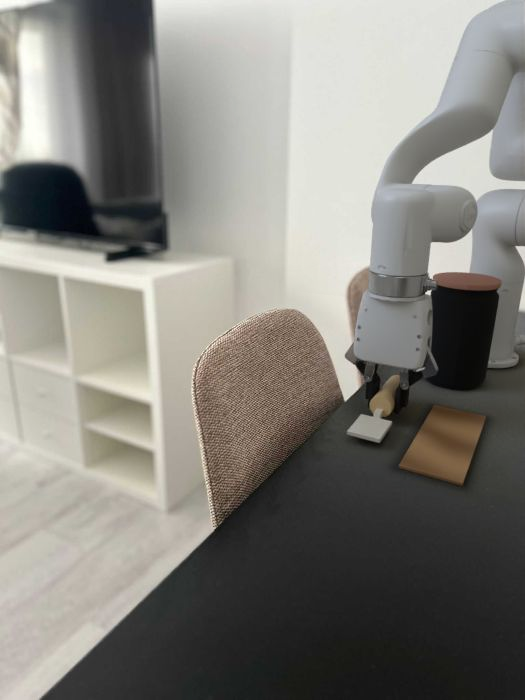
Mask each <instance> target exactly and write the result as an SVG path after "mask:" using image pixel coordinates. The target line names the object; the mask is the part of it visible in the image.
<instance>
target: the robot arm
mask: <svg viewBox="0 0 525 700" xmlns="http://www.w3.org/2000/svg"><path fill="white" fill-rule="evenodd" d="M446 77H447V78H446V80H445V82H444V85H443V89H442V91H441V93H440V97H439V100H438V103H437V105H436V107H435V108H434V110H433V111H432V112H431V113H430V114H428V115H427V116H426V117H424V118H423V119H422V120H421V121H420V122H419V123H418V124H417V125H416V126H414V127H413V128H412V129H411V130H410V131H409V132H408V133H407V135H405V136H404V138H402V140H401V141H400V142H399V143H398V144H397V145H396V146H395V148H394V149H393V150H392V151H391V153H390V154H389V156H388V158H387V159H386V161H385V163H384V166H383V168H382V171H381V174H380V176H379V179H378V182H377V185H376V187H375V190H374V193H373V198H372V202H371V207H370V219H371V222H372V228H371V229H372V230H371V231H372V232H371V244H370V259H369V273H368V287H367V289H366V290H365V291H364V292H363V293H362V297H361V300H360V304H359V308H358V312H357V318H356V324H355V329H354V337H353V342H352V343H351V345H350V346H349V348H348V349H347V351H346V352H345V353H344V358H345V359H346V360H347V361H348V362H350V363H351V364H352V365H354V366H355V367H356V369H357V370H358V371H359V373H360V374H361V375H362V376H363V380H364V381H365V382H366V383H365V397H364V398H365V400H367V408H369V409H370V401H371V400H372V398H373V397H374V396H375V395H376V394H377V392H378V391H379V390H380V389H381V377H380V375H379V374H378V373H379V367H380V365H381V366H387V367H392V368H397V369H399V375H400V383H399V386H398V387H397V388H396V392H395V406H394V409H393V413H394V414H396V415H399V414H401V412H402V410H403V409H404V408H405V409H406V408H407V407H408V405H409V399H410V388H411V386H413V385H414V384H417V383H418V382H419V381H420V380H423V379H425V378H427V377H431V376H434V375H436V374H437V372H438V370H439V368H438V366H437V364H436V362H435V359H434V357H433V355H432V353H431V345H432V323H433V312H432V299H431V296H430V295H431V294H427V292H428V291H430V292H431V290H437V286H438V280H433V278H430V273H429V263H430V254H431V245H432V243H442V244H443V243H444V244H450V243H454V242H458V241H461V240H462V239H463V238H465V237H466V236H467V235H468V234H469V233H470V232H471V236H472V237H471V239H472V241H471V242H472V243H471V256H470V257H471V258H470V265H469V272H468V273H476V274H483V275H488V276H492V277H495V278H498V279H500V280H501V281H502V283H501V287H500V288H499V289H498V290H497V293H498V294H499V303H498V309H497V315H496V320H495V326H494V332H493V338H492V344H491V350H490V356H489V362H488V367H487V369H508V368H511V367H515V366H516V365H517V364H519V360H520V359H519V358H520V357H519V354H517V352H515V351H514V350H515V348H516V347H517V346H523V345H525V334H520V335H515V333H516V327H517V321H518V316H519V312H520V311H519V310H520V304H521V299H522V294H523V289H524V283H525V263H524V260H523V258H522V256H521V254H520V252H519V250H518V248H517V247H525V189H522V188H502V189H501V188H500V189H493V190H489V191H487V192H485V193H483V194H482V195H481V196H479V198H477V200H476V198H475V196H474V194H473V193H472V192H470V190H468V189H466V188H464V187H462V186H458V185H451V184H450V185H447V184H444V185H443V184H431V183H429V184H427V183H413V182H414V180H415V179H416V177H418V175H419V173H420V172H421V171H422V170H424V168H425V167H427V166H428V165H430V164H431V163H432V162H434V161H435V160H437V159H438V158H441V157H442V156H445V155H446V154H449V153H451V152H453V151H455V150H459V149H460V148H462V147H465V146H466V145H469V144H472V143H473V142H475V141H478V140H480V139H481V138H484V137H485V136H486V135H488V134H489V133H491V132H492V133H491V140H490V149H489V156H488V157H489V159H488V166H489V167H488V169H489V172H490V174H491V175H492V177H494V178H495V179H498V180H502V181H510V182H525V0H502V1H499V2H497V3H495V4H493V5H491V6H489V8H486V9H484V10H482V11H480V12H478V13H477V14H475V15H474V16H473V17H472V18H471V20H469V22H468V23H467V25H466V27H465V29H464V30H463V33H462V36H461V38H460V41H459V44H458V47H457V50H456V53H455V55H454V58H453V61H452V64H451V66H450V68H449V72H448V75H447V76H446ZM423 365H425V367H424V368H422V367H423Z"/></svg>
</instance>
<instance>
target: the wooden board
mask: <svg viewBox="0 0 525 700" xmlns="http://www.w3.org/2000/svg"><path fill="white" fill-rule="evenodd" d="M486 419H487V416H486V415H483V414H478V413H473V412H469V411H464V410H459V409H455V408H450V407H445V406H441V405H437V404H434V405H433V407H432V408H431V410H430V412H429V413H428V415H427V416H426V418H425V420H424V422H423V423H422V425H421V426H420V429H419V430H418V432H417V433H416V435H415V437H414V438H413V441H412V442H411V444H410V445H409V448H408V449H407V451H406V452H405V453H404V456H403V458H402V459H401V461H400V462H399V464H398V469H399V470H400V469H401V470H405V471H407V472H411V473H415V474H418V475H422V476H426V477H428V478H432V479H436V480H440V481H443V482H446V483H450V484H453V485H456V486H457V485H458V486H461V487H463V486H464V482H465V480H466V477H467V475H468V471H469V469H470V466H471V463H472V460H473V458H474V454H475V452H476V449H477V446H478V442H479V439H480V437H481V435H482V431H483V428H484V425H485V423H486Z"/></svg>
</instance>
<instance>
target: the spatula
mask: <svg viewBox="0 0 525 700" xmlns="http://www.w3.org/2000/svg"><path fill="white" fill-rule="evenodd" d="M399 383H400V374H393V375H391V376H390V377H389V378H388V379H387V380H386V382H385V383H384V384H383V385H382V386H381V387H380V390H379V391H378V392H377V394H376V395H375V396H374V397H373V398H372V400H371V401H370V408H369V410H370V411H371V413H372V414H373V416H371V415H367V414H364V413H361V414H360V415H359V416H358V417H357V419H356V420H355V421H354V422H353V423H352V424H351V425H350V427H349V428H348V429H347V431H346V435H347V436H351V437H355V438H359V439H362V440H366V441H370V442H373V443H377V444H380V443H381V442H382V441H383V439H384V438H385V436H386V434H387V433H388V432H389V430H390V429H391V427H392V426H393V421H392V420H388V419H385V418H386V417H388V416H390V414H391V413H392V412H393V411H394V406H395V392H396V388H397V387H398V386H399Z"/></svg>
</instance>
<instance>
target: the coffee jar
mask: <svg viewBox="0 0 525 700" xmlns="http://www.w3.org/2000/svg"><path fill="white" fill-rule="evenodd" d="M432 280H438V286H437V290H430V294H429V295H430V296H431V299H432V312H433V323H432V345H431V353H432V355H433V357H434V359H435V362H436V364H437V366H438V368H439V370H438V372H437V374H436V375H434V376H431V377H427V378H424V379H425V380H426V381H427V382H428V383H430V384H432V385H434V386H437V387H440V388H443V389H449V390H454V391H470V390H474V389H478V388H479V387H480V386H481V385H482V384H483V383H484V382H485V381H486V378H487V373H488V368H487V367H488V362H489V356H490V350H491V344H492V338H493V332H494V326H495V320H496V315H497V309H498V303H499V294H498V293H497V290H498V289H499V288H500V287H501V283H502V281H501V280H500V279H498V278H495V277H492V276H488V275H483V274H476V273H469V272H463V271H462V272H460V271H446V272H439V273H435V274H433V275H432ZM424 367H425V365H423V367H422V368H424Z"/></svg>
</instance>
